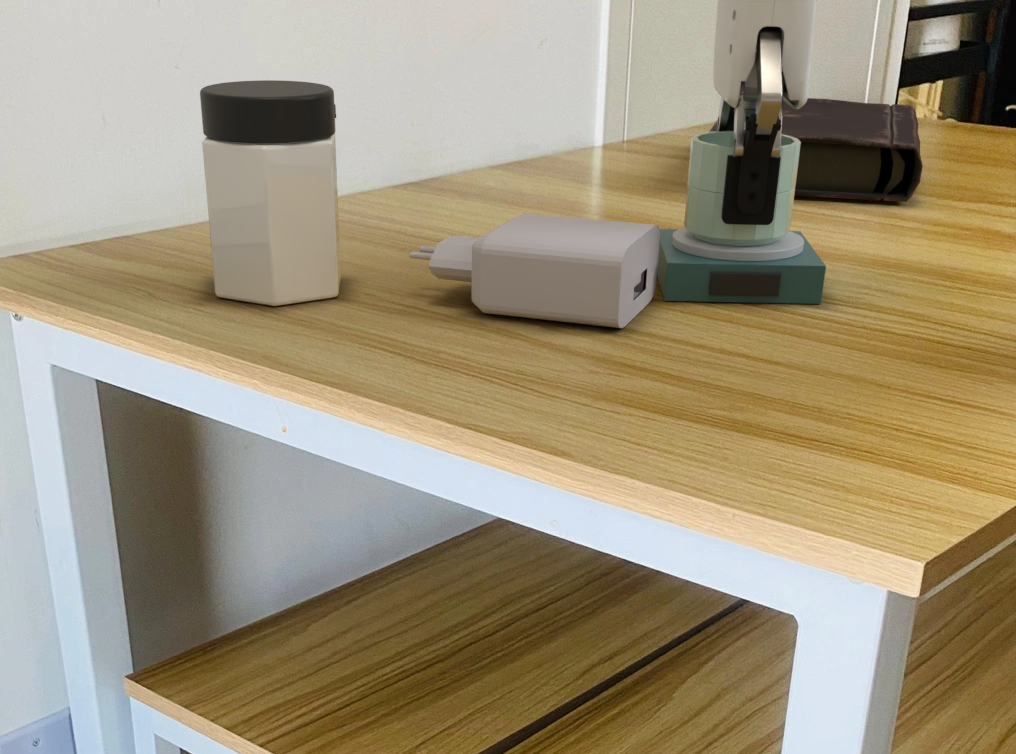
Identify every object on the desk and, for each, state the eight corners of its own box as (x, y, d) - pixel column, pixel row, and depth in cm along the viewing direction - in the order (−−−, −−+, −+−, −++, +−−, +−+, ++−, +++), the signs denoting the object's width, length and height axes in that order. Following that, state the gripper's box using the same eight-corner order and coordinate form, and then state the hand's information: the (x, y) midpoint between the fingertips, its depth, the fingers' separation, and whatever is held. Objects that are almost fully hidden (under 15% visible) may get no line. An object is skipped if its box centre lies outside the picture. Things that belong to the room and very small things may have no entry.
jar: (371, 283, 91) (365, 86, 85) (303, 312, 85) (291, 101, 78) (259, 267, 94) (245, 76, 88) (186, 294, 88) (166, 90, 82)
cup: (779, 226, 93) (791, 131, 90) (795, 249, 88) (808, 148, 84) (679, 224, 93) (687, 130, 90) (688, 247, 88) (697, 147, 85)
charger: (441, 274, 93) (656, 296, 89) (387, 308, 86) (618, 334, 81) (441, 201, 91) (662, 220, 86) (385, 229, 83) (623, 251, 79)
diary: (912, 157, 135) (921, 101, 132) (916, 206, 114) (927, 141, 112) (722, 147, 139) (727, 93, 136) (693, 193, 118) (698, 130, 116)
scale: (796, 266, 96) (801, 222, 95) (821, 305, 87) (828, 257, 86) (653, 263, 96) (656, 219, 95) (664, 302, 88) (668, 254, 86)
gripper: (868, -104, 73) (819, 242, 82) (812, -108, 88) (776, 186, 97) (726, -107, 73) (694, 239, 82) (695, -110, 88) (670, 184, 97)
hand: (739, 208), depth 90 cm, fingers closed on cup, 6 cm apart
